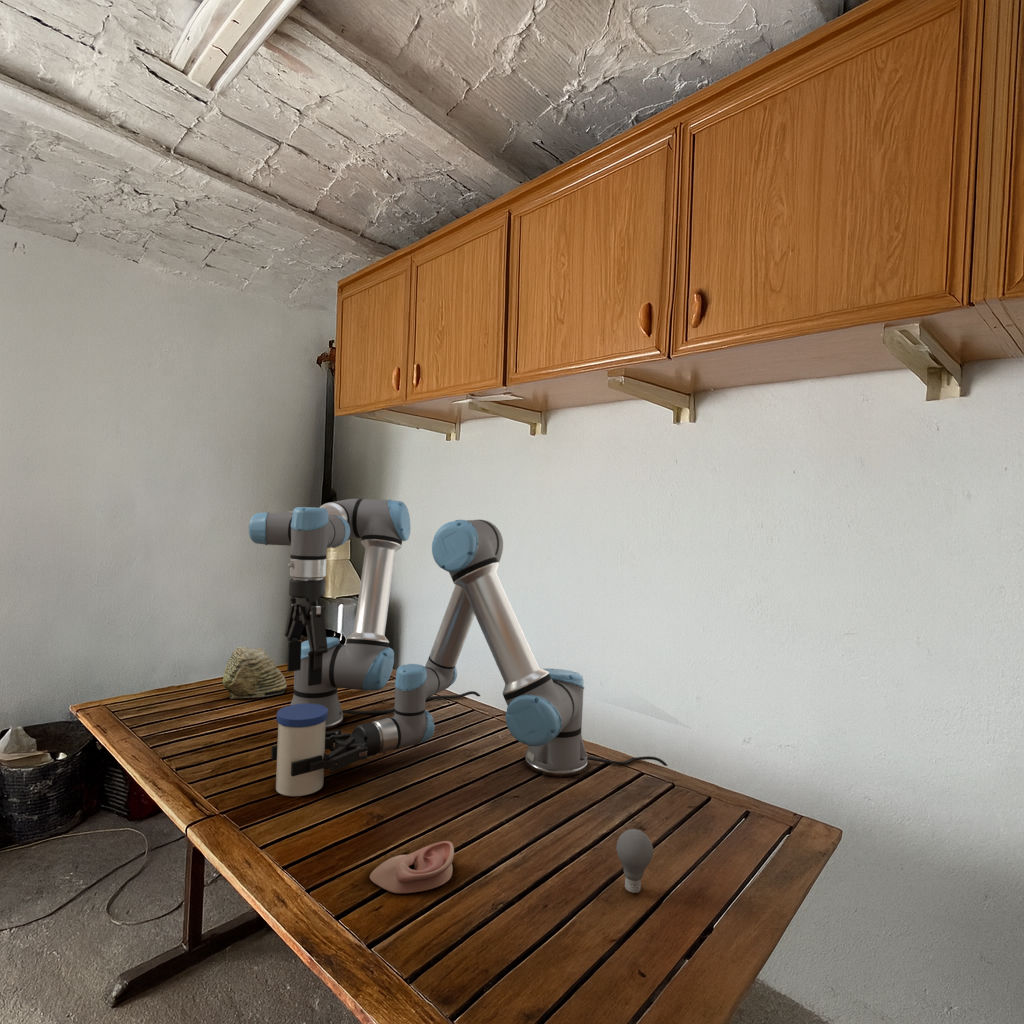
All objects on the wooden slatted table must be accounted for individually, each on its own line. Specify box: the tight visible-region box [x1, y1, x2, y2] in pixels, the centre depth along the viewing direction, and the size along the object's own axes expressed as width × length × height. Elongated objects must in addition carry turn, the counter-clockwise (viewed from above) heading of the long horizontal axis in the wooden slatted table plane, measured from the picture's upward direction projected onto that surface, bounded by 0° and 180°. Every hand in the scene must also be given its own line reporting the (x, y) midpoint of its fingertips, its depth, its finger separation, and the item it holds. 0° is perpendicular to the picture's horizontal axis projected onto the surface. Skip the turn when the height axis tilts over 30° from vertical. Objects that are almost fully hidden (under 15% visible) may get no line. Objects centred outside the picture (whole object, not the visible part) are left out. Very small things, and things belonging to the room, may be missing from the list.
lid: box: [276, 704, 328, 727], centre depth 138 cm, size 11×11×2 cm
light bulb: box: [615, 828, 654, 894], centre depth 106 cm, size 6×6×10 cm
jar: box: [275, 721, 327, 797], centre depth 138 cm, size 10×10×16 cm
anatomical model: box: [369, 840, 455, 894], centre depth 107 cm, size 13×4×12 cm
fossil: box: [222, 646, 288, 699], centre depth 198 cm, size 9×18×15 cm, turn 132°
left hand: (303, 677), depth 138 cm, fingers open, 12 cm apart
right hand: (281, 760), depth 135 cm, fingers closed on jar, 10 cm apart
